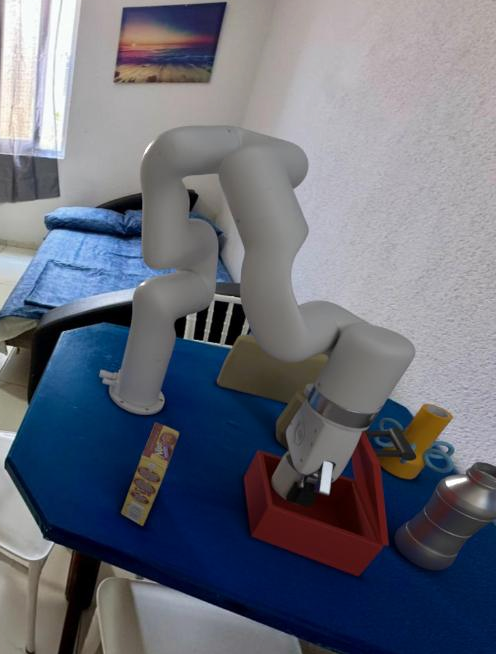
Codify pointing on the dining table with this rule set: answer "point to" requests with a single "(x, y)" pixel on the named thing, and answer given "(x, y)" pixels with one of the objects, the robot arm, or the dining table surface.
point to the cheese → (266, 371)
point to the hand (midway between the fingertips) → (293, 485)
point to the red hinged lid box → (312, 520)
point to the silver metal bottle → (450, 518)
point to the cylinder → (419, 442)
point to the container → (287, 476)
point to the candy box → (150, 473)
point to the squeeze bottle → (290, 414)
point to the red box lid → (377, 473)
